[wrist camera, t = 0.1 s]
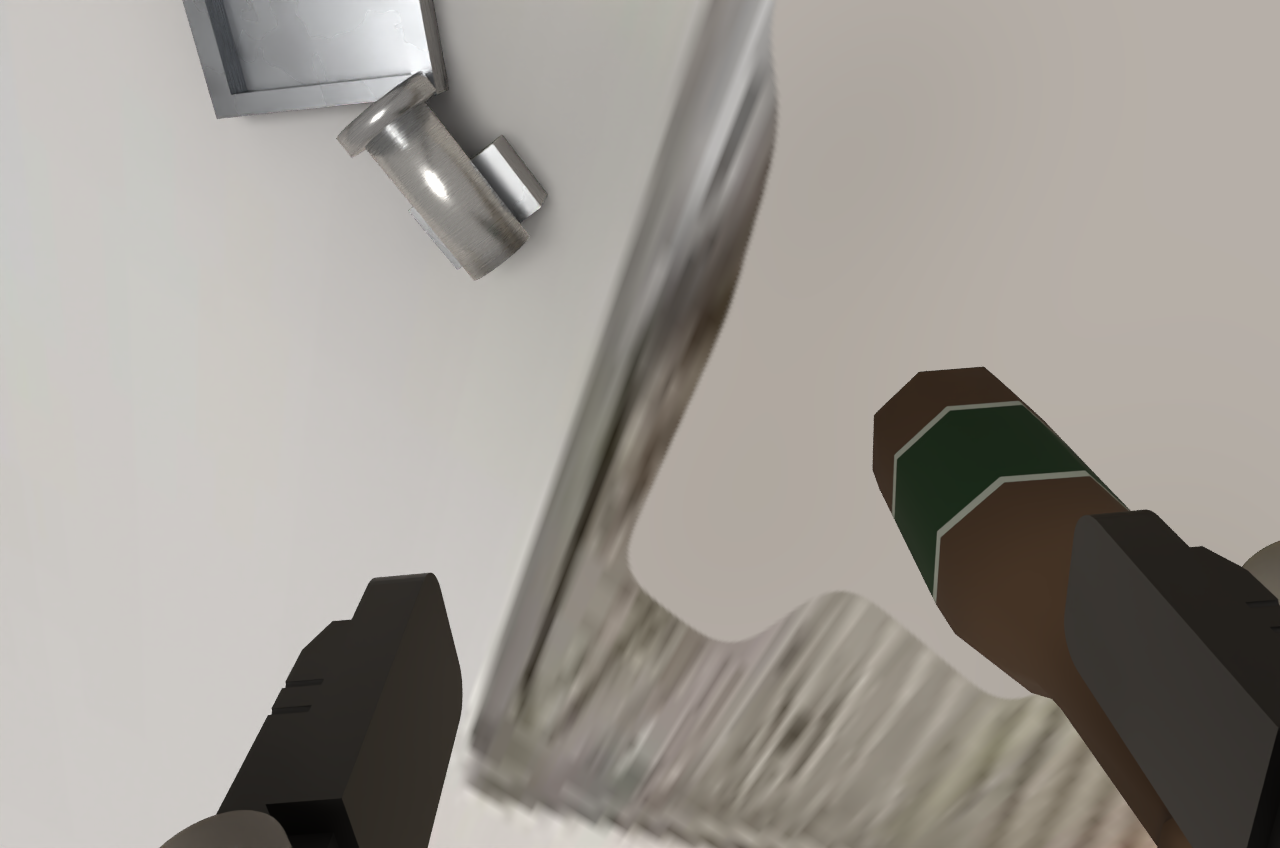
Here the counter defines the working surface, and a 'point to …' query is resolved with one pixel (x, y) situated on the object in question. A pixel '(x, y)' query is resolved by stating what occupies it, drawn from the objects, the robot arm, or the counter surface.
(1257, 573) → the grey bottle
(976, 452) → the beer bottle
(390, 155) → the shaft
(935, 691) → the counter surface
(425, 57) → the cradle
